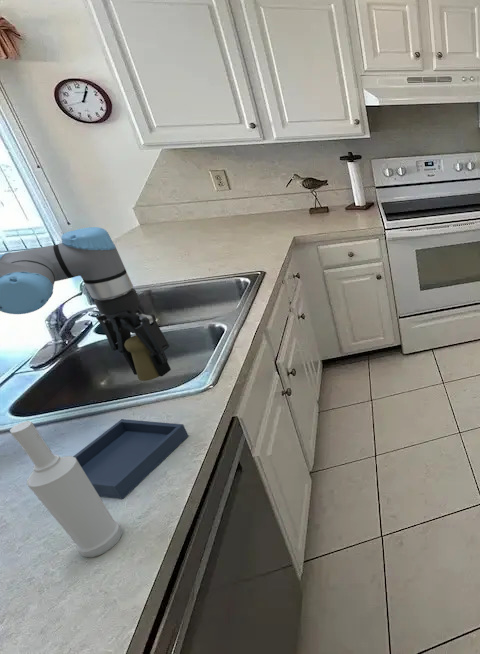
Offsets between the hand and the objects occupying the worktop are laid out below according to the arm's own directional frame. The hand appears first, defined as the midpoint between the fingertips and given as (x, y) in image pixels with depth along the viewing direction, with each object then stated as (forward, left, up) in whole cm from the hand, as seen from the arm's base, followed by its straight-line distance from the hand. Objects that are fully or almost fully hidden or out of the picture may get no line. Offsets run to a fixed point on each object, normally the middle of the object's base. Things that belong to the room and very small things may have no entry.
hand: (152, 372), depth 106 cm
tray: (+19, -26, 0) cm, 32 cm away
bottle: (+31, -40, 0) cm, 51 cm away
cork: (0, 0, 0) cm, 0 cm away
